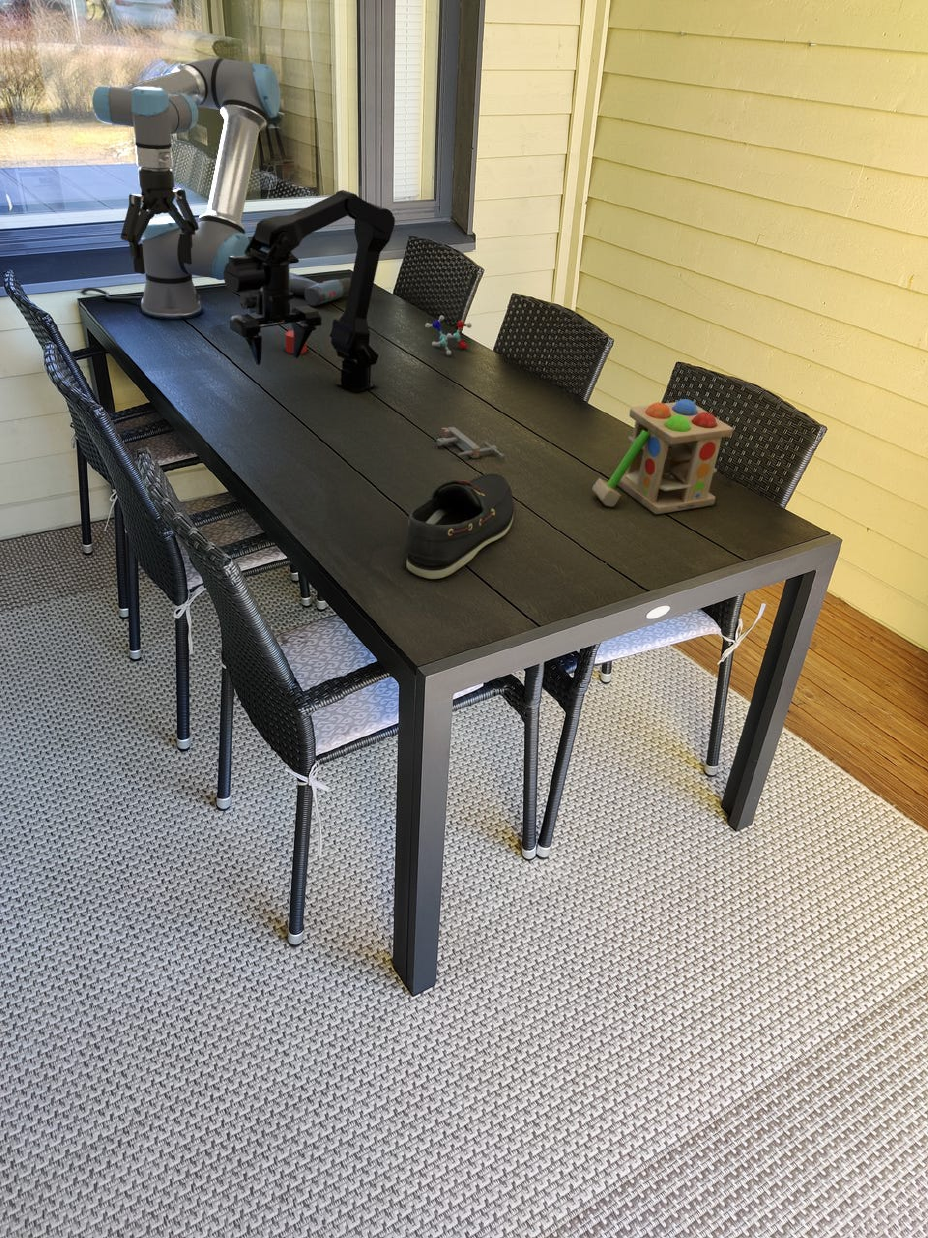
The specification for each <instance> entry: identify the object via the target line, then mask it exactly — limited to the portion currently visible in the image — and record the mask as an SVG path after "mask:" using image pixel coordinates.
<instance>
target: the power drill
mask: <svg viewBox="0 0 928 1238" xmlns="http://www.w3.org/2000/svg"><path fill="white" fill-rule="evenodd" d="M289 273H290V293H292V294H293V295H299V296H304V299H305V301H306V303H307V304H308V305H310V306H312V307H313V306H319V305H322V304H326V303H328V302H332V301H334V300H338V299H339V298H341V297H343V296H345V295H348V293H349V288H350V283H351V278H352V277H351V278H350V277H344V278H341V279H339V278H338V279H330V280H324V281H322V282H317V281H314V280H312V279H309V278H307V277H305V276H302V275H300V274H296V273H293V272H290V271H289Z"/></svg>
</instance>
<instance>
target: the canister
mask: <svg viewBox="0 0 928 1238" xmlns="http://www.w3.org/2000/svg"><path fill="white" fill-rule="evenodd" d="M284 335H285V337H284V338H285V352H287V353H288V354H292V355H294V351H293V337H294V331H293V329H292V330H288V331H285V333H284ZM305 353H307V342H306V343H305V345H304V347H303V349H302V351H301V353H300V355H302V354H305Z"/></svg>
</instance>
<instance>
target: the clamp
mask: <svg viewBox="0 0 928 1238" xmlns="http://www.w3.org/2000/svg"><path fill="white" fill-rule="evenodd" d="M452 443H453V444H454V445H456V446H457V447H458V448H459V449H460V450H462V451H463V452H458V453H457V456H458V457H460V456H469V457H470V458H472V459H477V458H480V454H482V453H487V452H488V453H496V454H497V455H498V456H499V457H500V459H502V460H504V459H506V457H507V456H506V454H504V453H501V452H500V451H499V450H498V447H497V446H496V445H495V444H494V445H491V444H490V443H489V442H488V441H486V440H485V441H484V442H483V446H484V447H483V448H481V447H480V446H479V444H476V443H475V442H474V441H473V440H471V439H470V438H469V437H468V436H466V435H465V434H464V433H463V432H461V431H460V430H459V429H457V428H456V427H455V426H450V427H441V429H440V437H439V438H436V444H437V445H438V446H439V447H441V446H448V445H449V444H452Z"/></svg>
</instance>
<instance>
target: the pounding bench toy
mask: <svg viewBox="0 0 928 1238" xmlns="http://www.w3.org/2000/svg"><path fill="white" fill-rule="evenodd" d="M628 415H629V417H630V418H631V419H632V420H634V422H635V423H634V427H633V431H632V436H631V435H630V436H628V438H627V439H628V440H629V441H631V442H630V446H629V449H628V451H627V452H626V453H625V455H624V457H623V458H622V460H621V461H620V462H619V464H618V466H617V467H616V469H615V470H614V471H613V473H612V475H611V476H610V478H609V480H605V479H603V478H600V477H598V479H597V480H596V481H595V483H594V484H593V486H592V488H591V490H592V493H594V494H595V496H597V498H598V499H599V500H600V501H601V502H602V504H603V505H605V506H607V507H615V506H616V504H617V502H618V501H619V500H620V499H621V493H620V492H619V491H618V490H617V489H616V488H617V487H619V488H620V489H622V490H623V491H624V492H625V493H627V494H628V495H630V496H631V498H633V499H635V501H637V502H639V504H641V505H642V506H644V507H645V508H646V509H648V510H649V511H650V512H652V513H653V514H654V515H660V514H667V513H673V512H678V511H686V510H690V509H697V508H703V507H708V506H713V505H715V502H716V496H715V495H713V494H712V493H711V492H710V488H711V485H712V479H713V476H714V473H718V469H717V468H716V464H717V460H718V456H719V455H718V454H719V452H720V451H719V450H720V447H721V442H722V439H723V438H728V437H732V435H733V433H734V432H733V431H734V428H733V427H731V426H730V425H729V424H727V423H725V422H723V421H722V420H721V419H719V418H717V417H716V416H715V415H714V414H712V413H711V412H708V411H706V410H705V409H703V408H701V407H700V406H698V405H696V404H695V402H694V401H692V400H691V399H688V398H683V399H680V400H677V401H675V402H666V403H663V402H660V401H659V402H658V401H657V402H654V403H651V404H650V405H641V406H632V407H630V409H629V414H628Z"/></svg>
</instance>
